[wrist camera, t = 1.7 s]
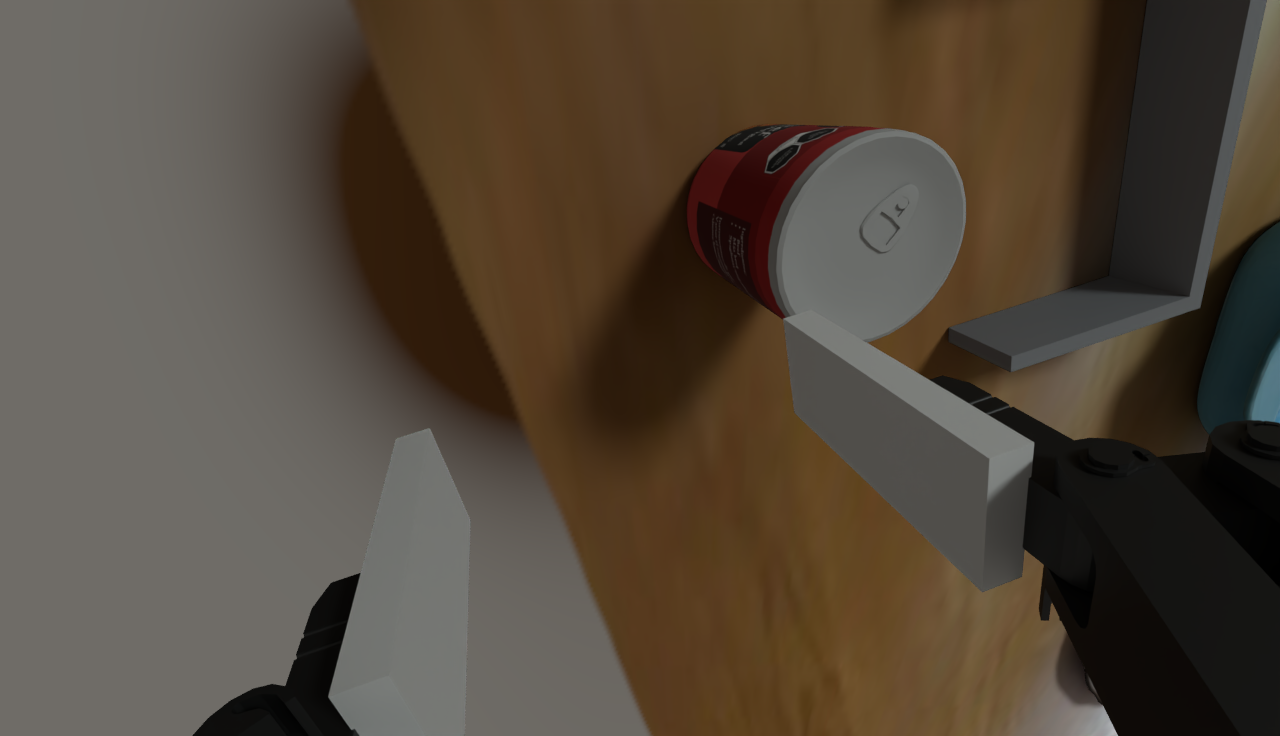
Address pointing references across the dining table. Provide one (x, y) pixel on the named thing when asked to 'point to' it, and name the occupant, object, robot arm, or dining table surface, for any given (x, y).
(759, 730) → the dining table surface
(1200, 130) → the box
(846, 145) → the canned food
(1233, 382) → the casserole dish
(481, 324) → the dining table surface
